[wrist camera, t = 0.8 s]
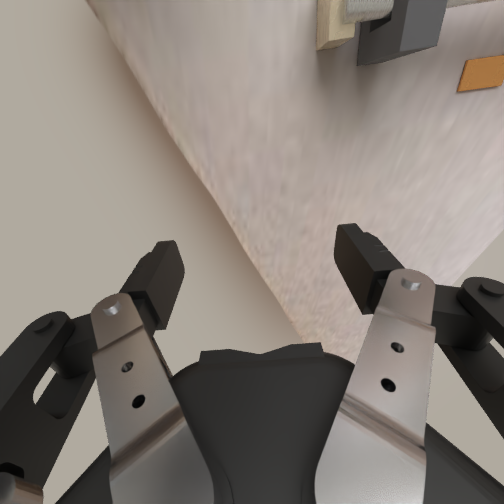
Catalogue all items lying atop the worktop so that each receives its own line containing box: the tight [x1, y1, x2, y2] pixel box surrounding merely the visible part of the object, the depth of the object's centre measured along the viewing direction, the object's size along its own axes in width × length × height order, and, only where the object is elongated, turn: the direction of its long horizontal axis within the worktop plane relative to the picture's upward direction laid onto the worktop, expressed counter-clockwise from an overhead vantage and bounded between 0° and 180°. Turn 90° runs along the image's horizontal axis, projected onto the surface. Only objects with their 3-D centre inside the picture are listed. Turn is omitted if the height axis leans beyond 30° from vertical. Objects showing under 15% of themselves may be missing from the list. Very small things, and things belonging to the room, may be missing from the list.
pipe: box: [316, 0, 504, 91], centre depth 23 cm, size 28×11×7 cm, turn 97°
